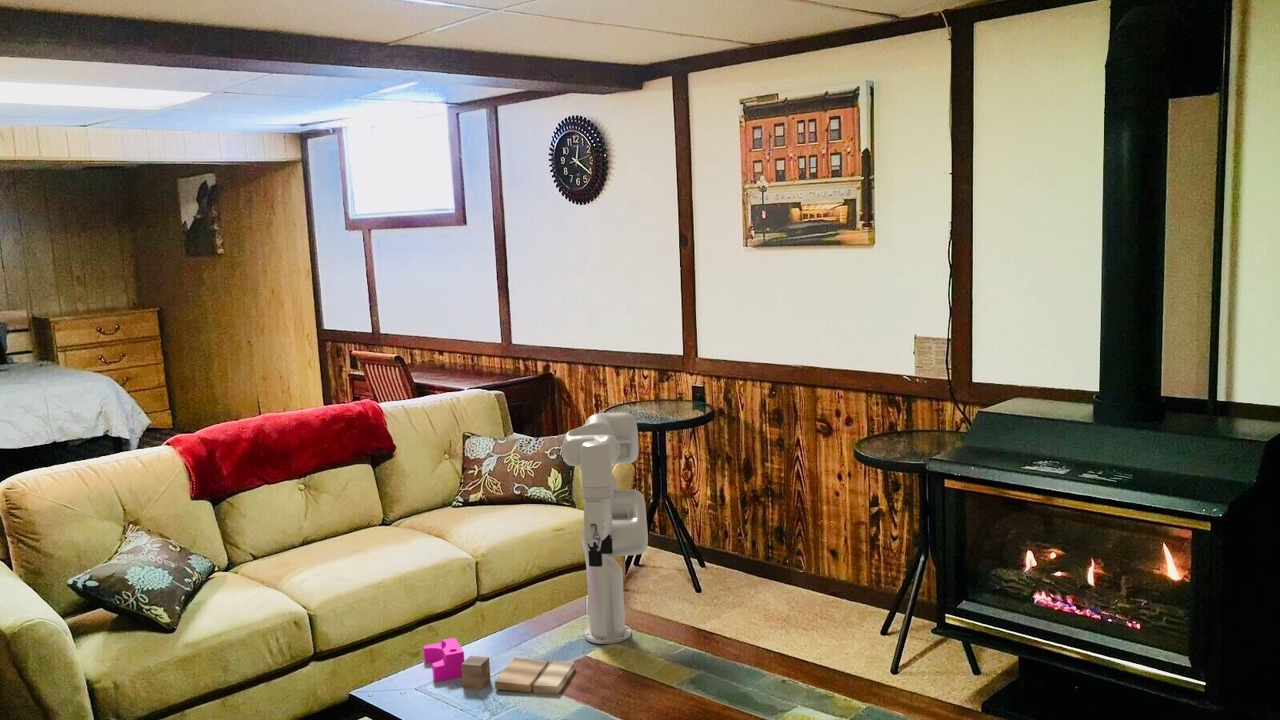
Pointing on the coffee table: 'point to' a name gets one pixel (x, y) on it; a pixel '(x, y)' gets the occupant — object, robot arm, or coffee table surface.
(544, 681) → the laid board
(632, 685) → the coffee table surface
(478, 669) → the walnut block
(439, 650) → the toy block
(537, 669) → the plank
